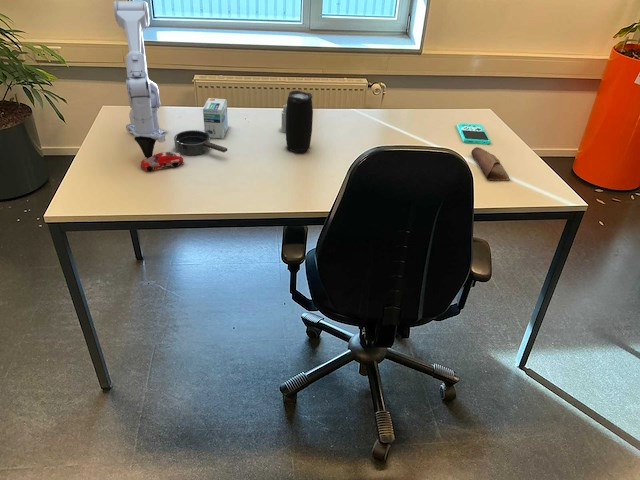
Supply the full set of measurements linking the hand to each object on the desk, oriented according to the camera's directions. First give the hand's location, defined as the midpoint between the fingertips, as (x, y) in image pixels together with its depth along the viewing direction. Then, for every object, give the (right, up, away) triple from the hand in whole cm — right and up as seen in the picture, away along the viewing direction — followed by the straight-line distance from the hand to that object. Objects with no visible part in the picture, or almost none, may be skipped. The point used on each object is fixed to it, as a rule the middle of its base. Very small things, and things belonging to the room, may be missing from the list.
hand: (148, 156), depth 168 cm
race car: (+5, -3, -2) cm, 6 cm away
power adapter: (+43, +14, +26) cm, 52 cm away
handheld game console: (+114, +13, +33) cm, 119 cm away
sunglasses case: (+113, -2, +10) cm, 113 cm away
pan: (+12, +4, +10) cm, 16 cm away
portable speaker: (+47, +5, +14) cm, 50 cm away
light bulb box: (+18, +12, +21) cm, 30 cm away
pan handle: (+21, +3, +4) cm, 21 cm away
